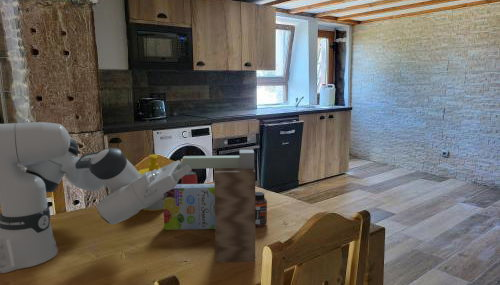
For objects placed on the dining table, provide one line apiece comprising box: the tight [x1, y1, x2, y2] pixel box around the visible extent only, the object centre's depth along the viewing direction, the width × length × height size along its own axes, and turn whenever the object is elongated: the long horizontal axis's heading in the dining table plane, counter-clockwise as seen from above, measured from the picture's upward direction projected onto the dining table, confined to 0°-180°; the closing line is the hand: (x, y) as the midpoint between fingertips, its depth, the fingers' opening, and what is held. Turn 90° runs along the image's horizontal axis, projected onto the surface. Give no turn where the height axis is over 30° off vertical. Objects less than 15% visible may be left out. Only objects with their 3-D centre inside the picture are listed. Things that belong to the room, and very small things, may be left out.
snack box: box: [163, 183, 215, 231], centre depth 124 cm, size 21×6×15 cm, turn 92°
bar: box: [181, 149, 255, 170], centre depth 102 cm, size 20×5×4 cm, turn 93°
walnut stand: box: [213, 168, 256, 263], centre depth 104 cm, size 11×12×26 cm
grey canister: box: [137, 154, 164, 212], centre depth 145 cm, size 13×13×21 cm
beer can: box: [180, 170, 198, 184], centre depth 153 cm, size 7×7×12 cm
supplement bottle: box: [255, 191, 268, 228], centre depth 127 cm, size 6×6×11 cm
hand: (191, 163), depth 102 cm, fingers open, 8 cm apart
